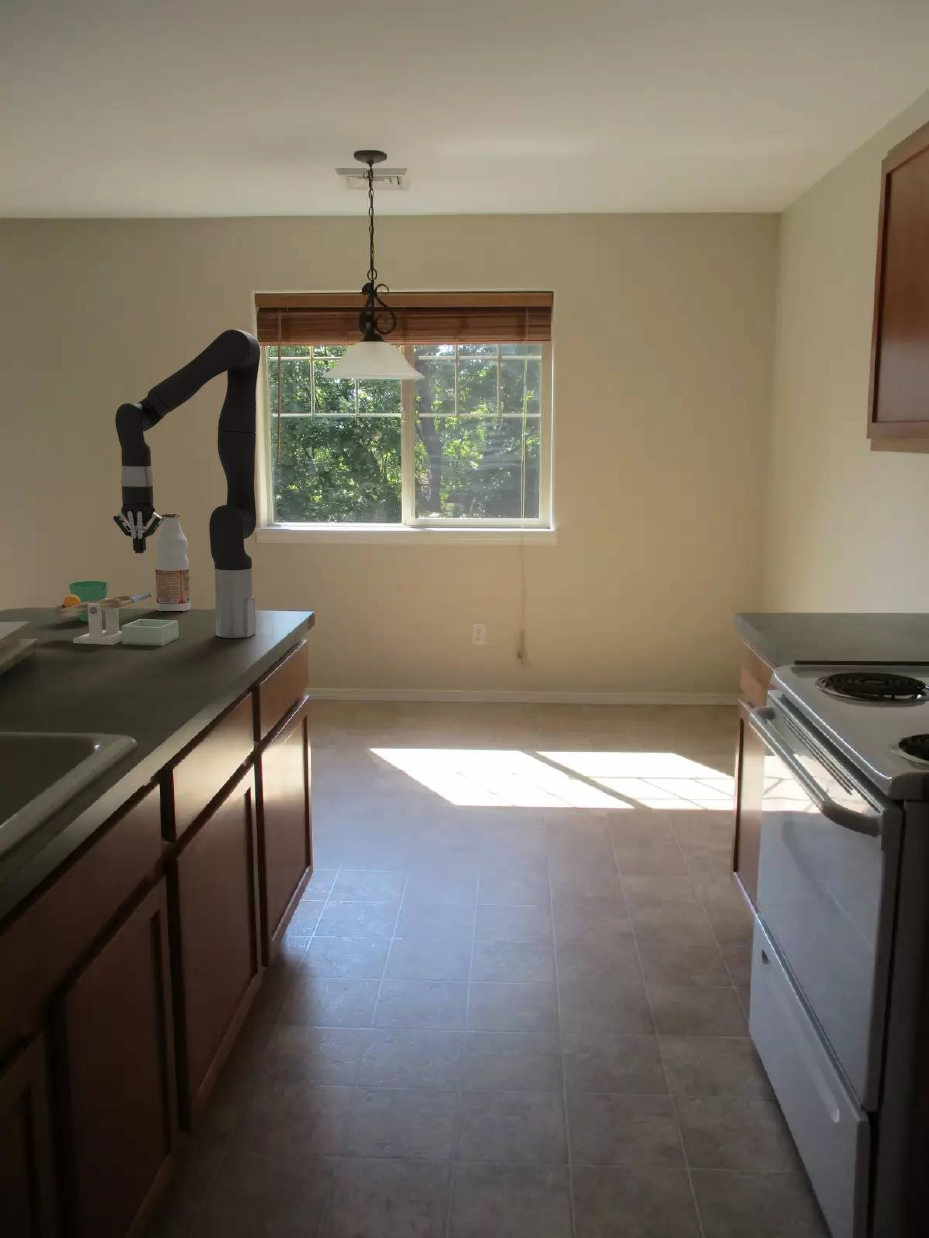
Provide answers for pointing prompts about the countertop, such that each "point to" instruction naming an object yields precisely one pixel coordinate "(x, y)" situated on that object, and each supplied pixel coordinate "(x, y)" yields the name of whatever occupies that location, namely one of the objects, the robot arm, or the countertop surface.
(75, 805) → the countertop surface
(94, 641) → the stand
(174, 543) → the fruit juice
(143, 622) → the pale green tray
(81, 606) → the lever
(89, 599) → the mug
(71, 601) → the ball
